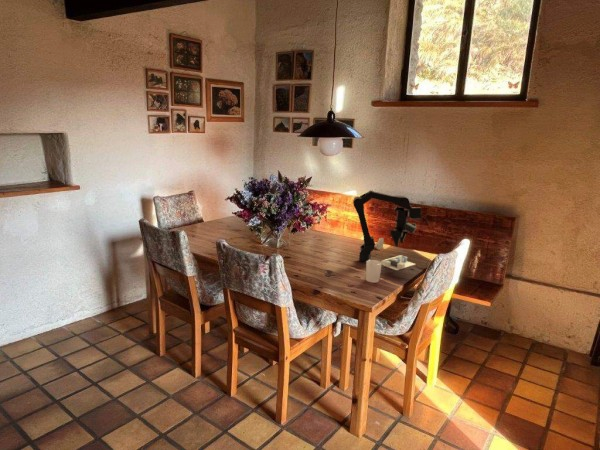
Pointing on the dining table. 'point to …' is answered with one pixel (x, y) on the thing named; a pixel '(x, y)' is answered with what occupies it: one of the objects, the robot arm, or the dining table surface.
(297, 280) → the dining table surface
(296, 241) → the dining table surface
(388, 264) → the backplate with stepped blocks
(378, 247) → the architectural model
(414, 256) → the dining table surface
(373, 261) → the white cup
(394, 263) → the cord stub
